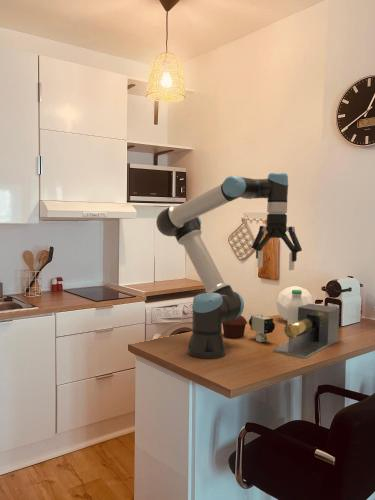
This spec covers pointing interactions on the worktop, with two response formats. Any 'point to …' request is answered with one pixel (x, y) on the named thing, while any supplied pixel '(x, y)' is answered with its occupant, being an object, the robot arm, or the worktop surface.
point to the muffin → (235, 328)
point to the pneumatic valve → (261, 326)
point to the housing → (313, 331)
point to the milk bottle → (294, 306)
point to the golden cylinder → (297, 328)
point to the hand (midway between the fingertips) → (275, 268)
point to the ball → (286, 297)
